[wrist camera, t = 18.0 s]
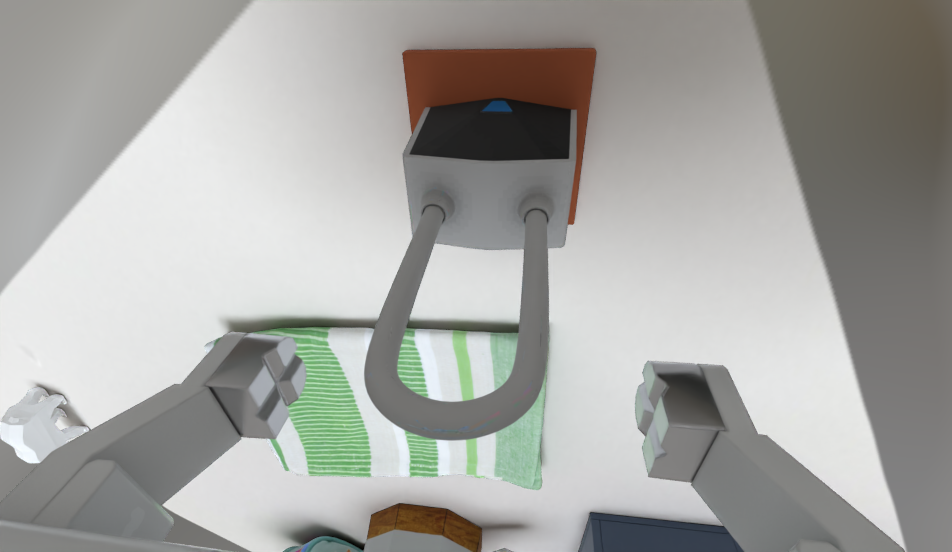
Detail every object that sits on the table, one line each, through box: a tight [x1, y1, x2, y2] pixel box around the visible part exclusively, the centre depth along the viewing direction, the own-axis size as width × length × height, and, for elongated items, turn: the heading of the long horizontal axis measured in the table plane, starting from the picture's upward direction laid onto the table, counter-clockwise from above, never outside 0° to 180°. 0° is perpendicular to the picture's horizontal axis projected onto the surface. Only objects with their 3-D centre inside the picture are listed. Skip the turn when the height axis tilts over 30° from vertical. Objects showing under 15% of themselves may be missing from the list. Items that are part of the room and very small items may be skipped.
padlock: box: [364, 98, 577, 441], centre depth 13 cm, size 7×4×15 cm, turn 91°
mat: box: [402, 48, 596, 225], centre depth 20 cm, size 8×8×1 cm
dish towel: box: [204, 327, 549, 490], centre depth 32 cm, size 18×23×3 cm
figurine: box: [0, 387, 90, 463], centre depth 39 cm, size 2×8×5 cm, turn 172°
